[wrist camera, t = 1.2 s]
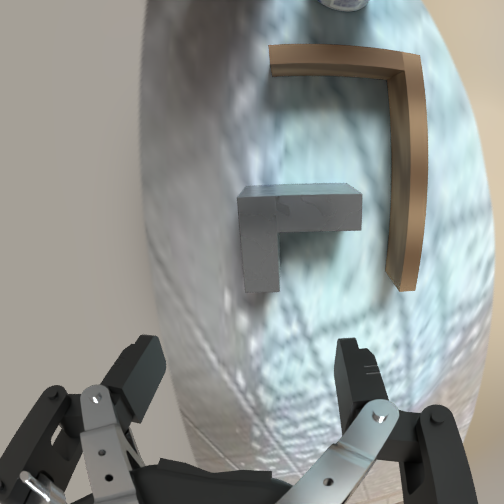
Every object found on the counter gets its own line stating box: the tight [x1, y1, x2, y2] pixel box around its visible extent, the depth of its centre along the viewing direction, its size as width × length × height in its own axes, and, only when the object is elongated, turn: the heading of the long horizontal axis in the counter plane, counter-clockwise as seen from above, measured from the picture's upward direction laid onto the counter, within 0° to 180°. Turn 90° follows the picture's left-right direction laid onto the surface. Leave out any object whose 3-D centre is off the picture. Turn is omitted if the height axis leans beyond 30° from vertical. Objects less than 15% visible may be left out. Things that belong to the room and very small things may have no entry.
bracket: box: [237, 183, 362, 292], centre depth 22 cm, size 7×8×5 cm
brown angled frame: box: [268, 44, 428, 292], centre depth 20 cm, size 18×11×4 cm, turn 4°
